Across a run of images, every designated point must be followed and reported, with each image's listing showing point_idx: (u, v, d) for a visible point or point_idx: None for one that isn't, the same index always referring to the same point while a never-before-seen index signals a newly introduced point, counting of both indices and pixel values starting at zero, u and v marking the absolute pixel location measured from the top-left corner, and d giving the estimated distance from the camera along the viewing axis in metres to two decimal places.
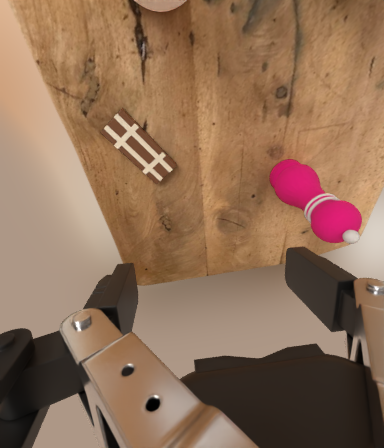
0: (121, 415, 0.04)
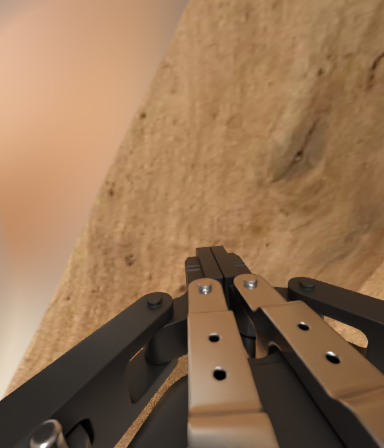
0: (195, 366, 0.04)
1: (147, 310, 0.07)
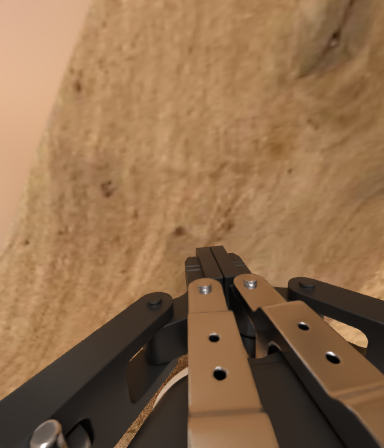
0: (195, 366, 0.04)
1: (147, 310, 0.07)
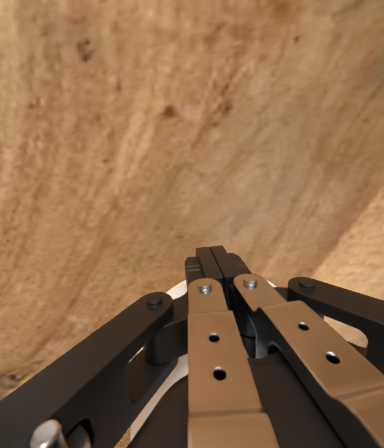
0: (195, 366, 0.04)
1: (147, 310, 0.07)
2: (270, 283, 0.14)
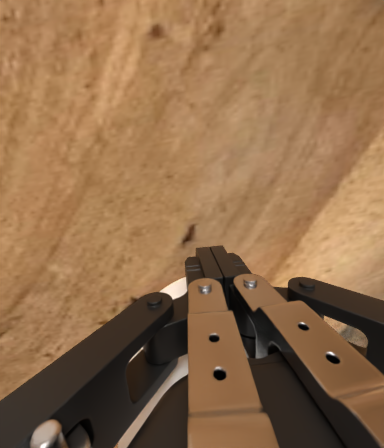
0: (195, 366, 0.04)
1: (146, 310, 0.07)
2: None
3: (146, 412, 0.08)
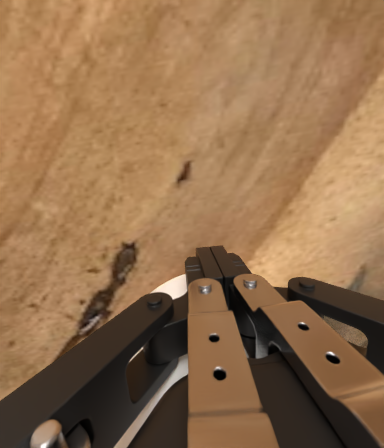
0: (195, 366, 0.04)
1: (147, 310, 0.07)
2: None
3: None
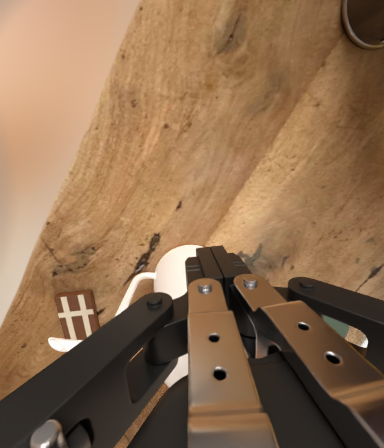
0: (195, 366, 0.04)
1: (147, 310, 0.07)
2: None
3: (166, 277, 0.27)
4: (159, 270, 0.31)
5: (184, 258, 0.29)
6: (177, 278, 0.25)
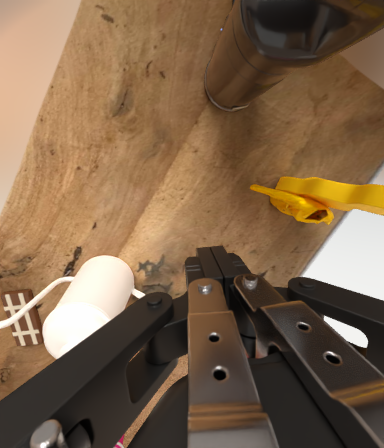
0: (195, 366, 0.04)
1: (147, 310, 0.07)
2: (123, 262, 0.44)
3: (73, 280, 0.37)
4: None
5: (91, 266, 0.39)
6: (76, 282, 0.36)
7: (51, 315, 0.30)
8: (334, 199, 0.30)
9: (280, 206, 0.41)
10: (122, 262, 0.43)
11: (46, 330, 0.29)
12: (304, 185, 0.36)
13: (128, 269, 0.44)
